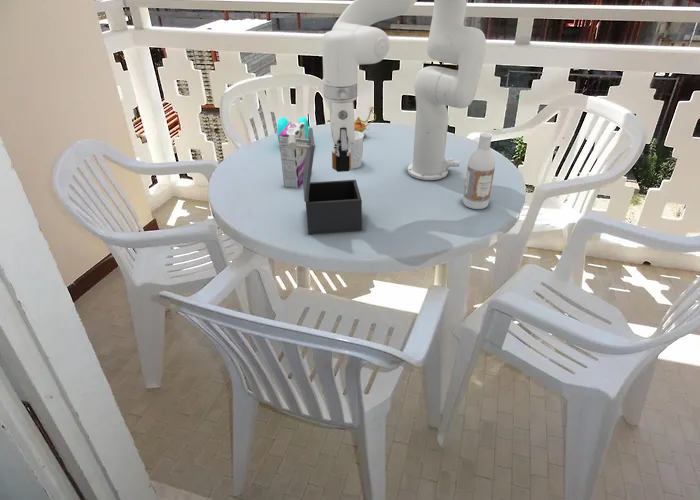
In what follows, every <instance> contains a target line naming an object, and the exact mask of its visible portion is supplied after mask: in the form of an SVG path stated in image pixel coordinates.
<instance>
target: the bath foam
mask: <svg viewBox="0 0 700 500" xmlns="http://www.w3.org/2000/svg"><path fill="white" fill-rule="evenodd" d="M492 137H493V136H492V134H491V133H489V132H482V133H480V134H479V138H478V147H477V148H476V149H475V150H474V151H473V152H472V154H471V155H470V156H469V159H468V161H467V166H466V167H467V168H466V174H465V182H464V190H463V198H462V203H463V205H464V206H465V207H467V208H469V209H473V210H482V209H485V208H487V207H488V206H489V203H490V198H491V193H492V187H493V186H492V185H493V179H494V175H495V174H494V173H495V168H496V160H495V156H494V153H493V152H492V150H491V143H492Z"/></svg>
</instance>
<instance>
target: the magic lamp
mask: <svg viewBox="0 0 700 500" xmlns="http://www.w3.org/2000/svg"><path fill="white" fill-rule="evenodd" d="M374 110H375V106H369V111H368V117H367V118H366V120H362V119H361V118H360V116H357V118H356V120H354V129H355V131H359V132H361V133H363V132H364V131H369V130H370V128H368V129H367V126H369V125H370V124H371V123H373V122H374V121H376V119H377V115H376V114H375V113H374ZM371 113H372V115H374V119H373V120H372V121H370V122H368V121H369V120H370V118H371ZM326 122H328V123H330V119H328V120H326ZM367 122H368V123H367ZM365 123H367V124H365Z"/></svg>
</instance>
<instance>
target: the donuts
mask: <svg viewBox="0 0 700 500" xmlns="http://www.w3.org/2000/svg"><path fill="white" fill-rule="evenodd" d="M297 122H304V123H305V132H306V139H308V133H309V128H310V127H309V120H308V118H306V117H305V116H301V117H299V119H298V120H297ZM289 123H290V121H289V120H288V119H287V118H286V117H285V116H281V117H279V118H278V120H277V124H276V125H277V126H276V131H277V140H278V142H279V136H278V135H279V134H280V133H281V132H282V131H283V130H284V128H285V127H286V126H287V125H288V124H289ZM306 144H307V143H306Z"/></svg>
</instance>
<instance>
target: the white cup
mask: <svg viewBox="0 0 700 500" xmlns="http://www.w3.org/2000/svg"><path fill="white" fill-rule="evenodd" d="M348 142H349V139H348ZM349 149H350V150H351V168H350V169H352V170H353V169H358V168H360V167H362V164H363V154H364V133H363V132H359V131H355V143H354V144H352V143H351V144H350V142H349Z"/></svg>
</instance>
